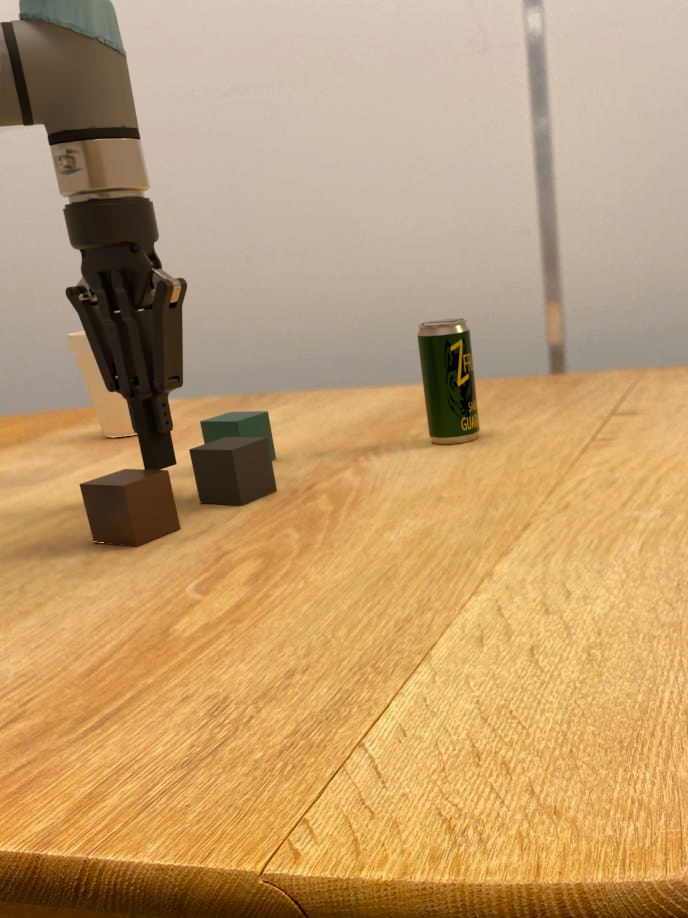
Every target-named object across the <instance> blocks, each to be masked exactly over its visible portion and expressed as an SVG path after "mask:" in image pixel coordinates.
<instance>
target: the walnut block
mask: <svg viewBox="0 0 688 918" xmlns="http://www.w3.org/2000/svg"><path fill="white" fill-rule="evenodd" d="M78 485H79V488H80V492H81V497H82V500H83V505H84V509H85V511H86V516H87V517H86V518H87V521H88V525H89V529H90V532H91V537H92V540H93V542H94V541H97V542H104V543H111V544H110V545H113V544H123V545H122V546H126V545H130V546H129V547H139V546H142V545H144V544H147V543H149V542H151V541H154V540H156V539H158V537H159V538H162V537H164V536H166V535H168V534H171V533H173V532H176V531H178V530H180V529H181V524H180V519H179V518H180V517H179V514H178V509H177V503H176V501H175V500H176V499H175V495H174V491H173V487H172V482H171V477H170V471H169V470H168V469H161V470H145V469H144V468H143V469H141V468H123V469H120V470H117V471H115V472H111V473H108V474H105V475H101V476H99V477H97V478H94V479H90V480H87V481H84V482H82V483H79V484H78ZM170 532H171V533H170ZM153 539H154V540H153ZM146 542H147V543H146ZM131 545H132V546H131Z"/></svg>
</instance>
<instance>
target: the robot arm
mask: <svg viewBox="0 0 688 918" xmlns="http://www.w3.org/2000/svg"><path fill="white" fill-rule="evenodd" d="M18 8H19V13H18V19H14V20H10V21H1V22H0V128H1V127H2V128H3V127H14V126H15V127H16V126H24V127H28V126H29V127H31V126H37V125H43V126H44V129H45V131H46V135H47V142H48V145H49V149H50V153H51V154H50V155H51V158H52V162H53V163H52V164H53V169H54V172H55V177H56V178H55V179H56V182H57V186H58V191H59V194H60V196H62V197H63V198H67V199H68V202H69V203H68V204H64V208H63V209H62V212H63V217H64V221H65V225H66V231H67V235H68V240H69V244H70V246H71V247H72V248H73V249H75V250H78V251H79V252H80V255H81V264H80V273H81V279H79V281H78V282H77V284H76V285H74V286H67V287H66V288H65V296H66V298H67V300H68V301H69V303H70V304H71V306H72V307H73V309H74V311H75V312H76V313H77V316H78V318H79V320H80V323H81V326H82V329H83V331H85V334H86V336H87V339H88V341H89V344H90V347H91V349H92V352H93V355H94V357H95V360H96V362H97V365H98V368H99V370H100V373H101V375H102V378H103V381H104V383H105V386H106V388H107V390H108V391H109V392H117V393H119V394H121V395H122V396H123V398H124V399H126V401H127V404H128V409H129V414H130V419H131V424H132V428H133V430H134V432H135V433H137V435H138V436H137V440H138V445H139V449H140V455H141V458H142V463H143V469H145V470H165V469H168V468H169V467H173V466H176V465H177V464H178V463H177V457H176V452H175V447H174V442H173V438H172V437H173V436H172V433H171V432H172V431H174V423H173V418H172V417H173V416H172V414H171V413H172V412H171V408H170V407H171V406H170V401H169V395H170V393H171V392H173V391H174V390H177V389H181V388H182V387H183V385H184V342H183V341H184V340H183V339H184V338H183V337H184V336H183V335H184V333H183V332H184V330H183V304H184V301H185V298H186V295H187V294H186V293H187V290H188V282H187V280H186V279H185V278H183V277H176V278H175V277H173V276H171V275H170V274H169V273H168V272H166V270H165V271H164V269H163V264H162V261H161V259H160V257H159V256H158V254H157V252H156V249H155V243H156V242H158V241H159V238H160V234H159V229H158V223H157V218H156V213H155V207H154V201H153V200H152V201H151V198H149V197H145V192H147V191H149V190H150V188H151V185H150V179H149V174H148V169H147V164H146V160H145V155H144V154H145V153H144V150H143V145H142V140H141V134H140V128H139V123H138V116H137V110H136V106H135V99H134V94H133V87H132V83H131V76H130V71H129V65H128V59H127V51H126V50H125V48H124V43H123V39H122V34H121V31H120V26H119V22H118V21H119V20H118V17H117V13H116V9H115V7H114V4H113V2H112V1H111V0H19V1H18ZM116 377H117V378H116Z"/></svg>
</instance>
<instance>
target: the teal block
mask: <svg viewBox="0 0 688 918" xmlns="http://www.w3.org/2000/svg"><path fill="white" fill-rule="evenodd" d="M270 420H271V419H270V414H269V411H265V410H264V411H263V410H261V411H254V410H253V411H252V410H251V411H249V410H248V411H244V410H243V411H229V412H226V413H222V414H220V415H216V416H213V417H210V418H207V419H203V420H200V421H199V425H200V429H201V434H202V438H203V439H202V440H203V445H204V444H207V443H209V442H212V441H215V440H218V439H221V438H224V437H267V438H268V443H269V449H270V454H271V460H272V461H273V460H276V459H277V454H276V448H275V444H274V443H275V442H274V437H273V432H272V426H271V421H270Z"/></svg>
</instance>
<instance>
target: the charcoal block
mask: <svg viewBox="0 0 688 918" xmlns="http://www.w3.org/2000/svg"><path fill="white" fill-rule="evenodd" d="M188 451H189V455H190V460H191V466H192V471H193V476H194V480H195V484H196V490H197V495H198V500H199V503H200V502H201V503H200V504H203V503H214V504H213V505H224V504H227V505H226V506H245V505H247V504H248V503H249V504H250V503H251V502H254V501H256V500H258V499H260V498H261V499H262V498H263V497H265V496H268V495H270V494H272V493H275V492H277V491H278V488H277V483H276V478H275V471H274V466H273V460H271V454H270V449H269V443H268V438H267V437H224V438H221V439H218V440H215V441H212V442H209V443H207V444H204V443H203V444H201V445H198V446H195V447H192V448H189V449H188Z"/></svg>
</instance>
